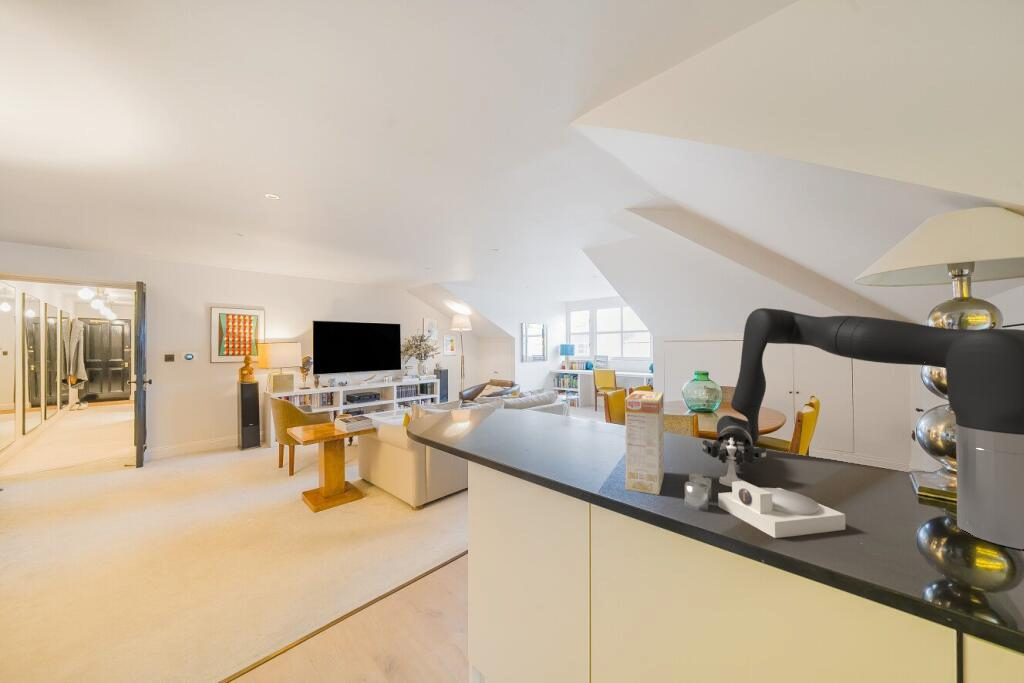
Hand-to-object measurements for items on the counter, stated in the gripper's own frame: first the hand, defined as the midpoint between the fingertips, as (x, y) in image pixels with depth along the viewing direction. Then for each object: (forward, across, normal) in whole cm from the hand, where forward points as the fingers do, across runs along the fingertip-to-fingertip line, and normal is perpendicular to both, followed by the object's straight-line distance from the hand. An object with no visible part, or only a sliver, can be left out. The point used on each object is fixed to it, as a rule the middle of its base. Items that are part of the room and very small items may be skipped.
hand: (731, 459), depth 81 cm
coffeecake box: (+6, -16, +6) cm, 19 cm away
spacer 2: (+15, -5, +6) cm, 17 cm away
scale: (+12, +8, +6) cm, 15 cm away
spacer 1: (+9, -5, +6) cm, 12 cm away
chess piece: (-3, 0, +6) cm, 7 cm away
